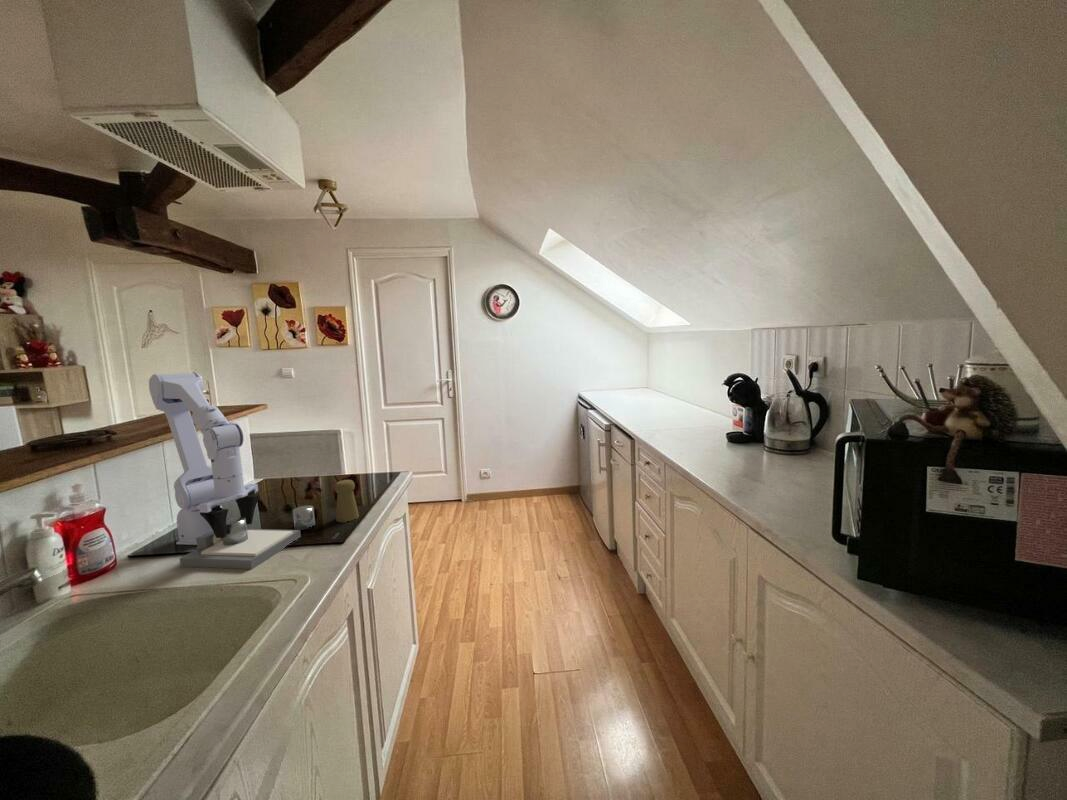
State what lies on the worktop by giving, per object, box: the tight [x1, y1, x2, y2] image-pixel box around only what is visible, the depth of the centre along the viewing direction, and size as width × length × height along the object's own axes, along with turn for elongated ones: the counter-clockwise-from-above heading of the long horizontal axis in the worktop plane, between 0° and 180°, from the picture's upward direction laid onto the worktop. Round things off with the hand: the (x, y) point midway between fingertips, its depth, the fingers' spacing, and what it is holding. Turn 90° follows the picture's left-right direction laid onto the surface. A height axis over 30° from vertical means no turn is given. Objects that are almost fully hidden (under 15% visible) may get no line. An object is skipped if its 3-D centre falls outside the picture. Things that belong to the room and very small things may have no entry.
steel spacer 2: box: [292, 504, 316, 531], centre depth 116 cm, size 5×5×5 cm
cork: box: [334, 479, 360, 523], centre depth 121 cm, size 6×6×11 cm
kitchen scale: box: [179, 528, 302, 570], centre depth 102 cm, size 18×16×6 cm
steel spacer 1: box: [222, 516, 248, 545], centre depth 102 cm, size 5×5×5 cm
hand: (234, 530), depth 102 cm, fingers open, 7 cm apart
